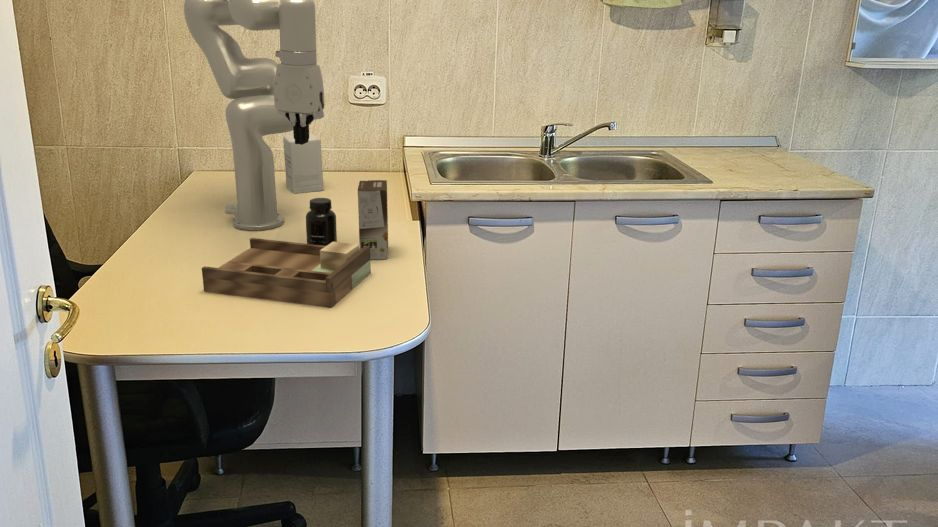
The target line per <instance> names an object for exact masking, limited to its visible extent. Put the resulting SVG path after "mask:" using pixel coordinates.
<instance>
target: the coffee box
mask: <svg viewBox="0 0 938 527" xmlns="http://www.w3.org/2000/svg"><path fill="white" fill-rule="evenodd" d="M357 206H358V237H359V250H361V249H362V248H363V247H365V246H370V260H387V259H388V253H389V223H388V222H389V215H388V214H389V213H388V212H389V211H388V209H389V208H388V181H387V179H386V180H384V179H383V180H381V179H378V180H377V179H376V180H374V179H371V180H359V182H358V186H357Z"/></svg>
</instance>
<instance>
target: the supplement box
mask: <svg viewBox="0 0 938 527" xmlns="http://www.w3.org/2000/svg"><path fill="white" fill-rule="evenodd" d="M282 140H283V141H282V143H283V153H284V166H285V168H284V170H285V181H286V182H285V183H286V185H285V186H286V187H287V189H289V190H290V191H291V193H292V194H295V195H296V194H303V193H311V192H313V193H314V192H320V191H324V190H325V189H324V177H323V176H324V174H323V173H324V171H323V158H322V155H323V154H322V143H321V142H322V141H321V139H320V138H318V137H317V136H316V135H315V134H313V133H309V140H308V142H307V143H305V144H303V145H300V144H295V139H294V134H292V135H283V136H282Z"/></svg>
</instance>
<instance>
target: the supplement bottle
mask: <svg viewBox="0 0 938 527" xmlns="http://www.w3.org/2000/svg"><path fill="white" fill-rule="evenodd" d="M337 232H338V231H337V215H336V212H335V211H333V210H332V200H331V199H330V198H327V197H315V198H311V199H310V200H309V210H308V212H307V213H306V214H305V233H306V244H313V245H322V246H327V245H329V244H330V243H332V242H338V238H337Z"/></svg>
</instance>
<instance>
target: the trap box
mask: <svg viewBox="0 0 938 527" xmlns="http://www.w3.org/2000/svg"><path fill="white" fill-rule="evenodd" d="M249 246H250V247H249V248H248V249H246V250H245V251H243V252H241V253H240V254H238V255H236V256H235V257H234V258H232V259H230V260H228V261H227V262H225V263H224V264H222V265H220V266H218V267H214V266H202V267H201V275H202V284H203V292H208V293H216V294H223V295H230V296H231V295H232V296H237V297H238V296H239V297H246V298H253V299H254V298H255V299H264V300H270V301H279V302H286V303H295V304H300V305H301V304H302V305H307V306H308V305H309V306H310V305H311V306H317V307H323V308H324V307H326V308H333V307H334V306H335V305H336V304H337V303H338V302H339V301H341V299H343V298H344V297H345V296H346V295H348V294H349V293H350V292H351V291H352V290H353V289H354V288H355V287H357V285H359V284H360V283H361V282H362V281H363V280H364V279H365V278H367V277H368V276H369V275H370V274H371V273H372V269H371V267H372V266H371V264H372V263H371V262H372V261H371V259H370V246H365V247H363V248H362V249H361V250H360V249H359V251H358V252H357V253H356V254H355V255H353V256H352V257H351V258H350V259H348V260H347V261H346V262H345V263H343V264H342V265H341V266H340V267H338V268H337V269H336V270H335V271H334V270H327V269H321V266H320V250H321V249H323V248H324V247H326V246H322V245H313V244H307V243H301V242H295V241H294V242H292V241H284V240H273V239H266V238H256V237H251V238H249ZM350 290H351V291H350ZM349 291H350V292H349Z"/></svg>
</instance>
